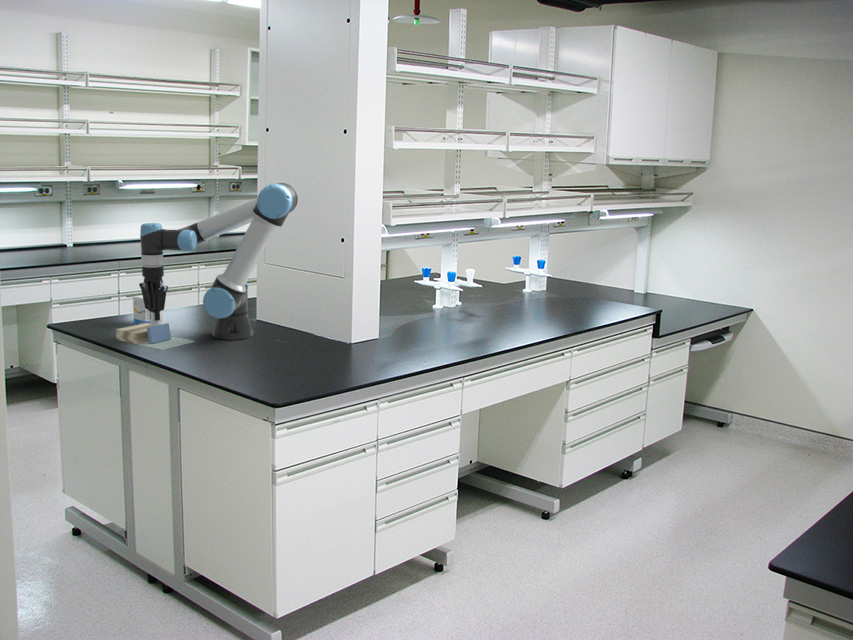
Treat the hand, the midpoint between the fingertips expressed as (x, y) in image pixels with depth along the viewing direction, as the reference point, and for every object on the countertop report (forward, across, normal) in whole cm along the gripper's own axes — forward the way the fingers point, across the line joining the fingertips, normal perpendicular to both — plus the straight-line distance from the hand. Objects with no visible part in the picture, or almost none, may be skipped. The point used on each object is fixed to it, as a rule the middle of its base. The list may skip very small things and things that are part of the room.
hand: (155, 328), depth 300 cm
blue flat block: (+2, -1, 0) cm, 2 cm away
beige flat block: (+5, +7, 0) cm, 9 cm away
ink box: (+5, +24, -18) cm, 31 cm away
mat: (+5, -6, 0) cm, 8 cm away
